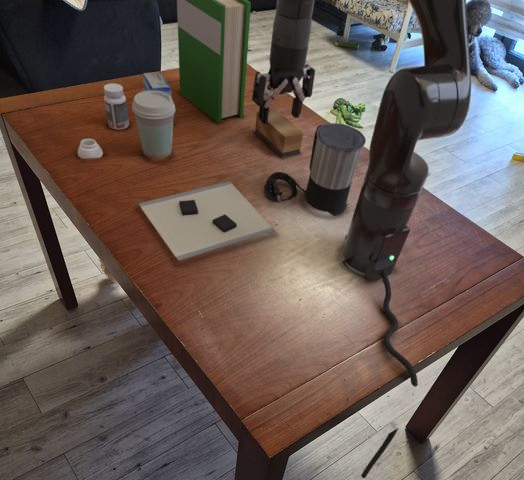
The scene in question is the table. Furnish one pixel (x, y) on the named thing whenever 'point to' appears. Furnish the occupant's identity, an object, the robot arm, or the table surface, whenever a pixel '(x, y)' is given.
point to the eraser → (279, 134)
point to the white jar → (89, 149)
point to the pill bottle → (116, 106)
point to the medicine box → (156, 83)
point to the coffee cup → (154, 122)
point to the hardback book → (214, 54)
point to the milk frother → (326, 169)
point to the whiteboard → (204, 220)
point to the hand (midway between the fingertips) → (279, 119)
